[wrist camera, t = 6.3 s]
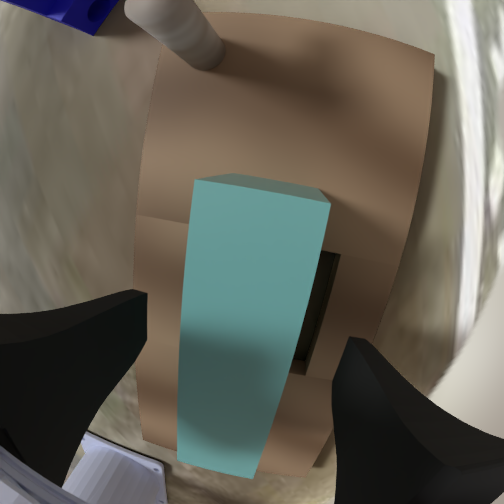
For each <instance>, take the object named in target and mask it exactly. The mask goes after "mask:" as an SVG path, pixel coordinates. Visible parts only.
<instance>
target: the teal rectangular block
mask: <svg viewBox="0 0 504 504" xmlns="http://www.w3.org/2000/svg"><path fill="white" fill-rule="evenodd" d="M330 206H331V203H330V202H329V201H328V200H327V198H326V197H325V196H324V195H323V193H322V192H321V191H320V190H319V189H318V188H314V187H309V186H304V185H299V184H294V183H289V182H283V181H278V180H272V179H267V178H261V177H255V176H249V175H243V174H237V173H230V174H223V175H217V176H211V177H205V178H199V179H195V180H194V188H193V196H192V204H191V212H190V221H189V230H188V239H187V249H186V259H185V270H184V282H183V295H182V308H181V324H180V341H179V363H178V395H177V461H181V462H184V463H187V464H191V465H194V466H198V467H202V468H205V469H209V470H213V471H217V472H222V473H226V474H231V475H235V476H240V477H245V478H250V479H253V477H254V474H255V472H256V469H257V466H258V463H259V461H260V458H261V455H262V452H263V449H264V447H265V444H266V441H267V438H268V435H269V432H270V429H271V426H272V423H273V420H274V417H275V414H276V411H277V408H278V405H279V402H280V399H281V395H282V392H283V389H284V386H285V383H286V379H287V376H288V373H289V369H290V366H291V363H292V359H293V356H294V352H295V349H296V345H297V342H298V338H299V335H300V331H301V327H302V324H303V320H304V316H305V313H306V309H307V305H308V301H309V297H310V293H311V289H312V285H313V281H314V277H315V273H316V269H317V265H318V261H319V256H320V252H321V248H322V243H323V239H324V234H325V230H326V225H327V221H328V216H329V211H330Z"/></svg>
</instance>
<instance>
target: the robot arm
mask: <svg viewBox="0 0 504 504" xmlns="http://www.w3.org/2000/svg"><path fill="white" fill-rule="evenodd" d="M147 302H148V293H146V292H142V291H138V290H135V289H131V290H125V291H121V292H118V293H114V294H111V295H107V296H104V297H101V298H97V299H94V300H91V301H87V302H83V303H80V304H76V305H72V306H68V307H64V308H59V309H54V310H48V311H42V312H34V313H20V314H0V504H168V501H167V493H166V484H165V474H164V466H163V464H162V463H161V462H159V461H156V460H153V459H151V458H148V457H145V456H142V455H140V454H137V453H135V452H132V451H130V450H127V449H125V448H122V447H120V446H118V445H115V444H113V443H111V442H108V441H106V440H104V439H102V438H100V437H97V436H95V435H93V434H91V433H89V432H87V429H88V427H89V425H90V423H91V422H92V420H93V418H94V416H95V415H96V413H97V411H98V409H99V408H100V406H101V405H102V403H103V402H104V400H105V399H106V398H107V396H108V395H109V394H110V393H111V391H112V390H113V389H114V388H115V386H116V385H117V384H118V382H119V381H120V380H121V379H122V377H123V376H124V375H125V374H126V372H127V371H128V370H129V368H130V367H131V366H132V365H133V363H134V362H135V361H136V359H137V357H138V356H139V354H140V352H141V351H142V349H143V347H144V345H145V343H146V341H147ZM331 406H332V416H333V425H334V434H335V444H336V454H337V475H336V491H335V502H334V504H491V503H492V502H493V501H494V500H495V499H497V498H498V497H499V496H500V495H501V494H502V493H503V492H504V439H502V438H499V437H496V436H493V435H490V434H488V433H485V432H483V431H481V430H479V429H477V428H475V427H472V426H470V425H468V424H467V423H464V422H462V421H461V420H459V419H457V418H456V417H454V416H452V415H451V414H449V413H447V412H446V411H444V410H443V409H441V408H440V407H439V406H437V405H436V404H434V403H433V402H432V401H431V400H429V399H428V398H427V397H425V396H424V395H423V394H421V393H420V392H419V391H418V390H417V389H416V388H415V387H413V386H412V385H411V384H410V383H409V382H408V381H407V380H406V379H405V378H404V377H403V376H402V375H401V374H400V373H399V372H398V371H397V370H396V369H395V368H394V367H393V366H392V365H391V364H390V363H389V362H388V361H387V360H386V359H385V358H384V357H383V356H382V355H381V354H380V353H379V352H378V350H377V349H376V348H375V347H374V346H373V345H372V344H371V343H370V342H369V341H367V340H366V339H364V338H357V337H351V336H349V338H348V340H347V343H346V346H345V349H344V351H343V354H342V357H341V359H340V362H339V365H338V367H337V370H336V372H335V375H334V377H333V380H332V395H331ZM80 443H81V444H82V447H83V449H84V452H85V455H84V456H83V457H82V459H81V460H80V462H79V463H78V465H77V466H76V468H75V469H74V470H73V472H72V473H71V475H70V476H69V478H68V479H67V481H66V482H65V484H64V485H63V483H64V480H65V478H66V475H67V472H68V470H69V467H70V465H71V462H72V460H73V458H74V456H75V453H76V451H77V449H78V447H79V445H80ZM62 486H63V487H62Z"/></svg>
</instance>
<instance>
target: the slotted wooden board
mask: <svg viewBox="0 0 504 504" xmlns="http://www.w3.org/2000/svg"><path fill="white" fill-rule="evenodd" d="M124 11H125V14H126V16H127V17H128V18H129V19H130V20H131V21H133V22H134V23H135V24H137V25H138V26H140V27H141V28H142V29H144V30H145V31H146V32H148V33H149V34H150V35H152V36H153V37H154V38H156V39H157V40H158V41H160V42H161V43H162V48H161V52H160V56H159V61H158V65H157V70H156V75H155V79H154V84H153V90H152V95H151V100H150V106H149V112H148V118H147V124H146V130H145V137H144V144H143V152H142V160H141V168H140V177H139V187H138V198H137V210H136V225H135V243H134V273H133V289H135V290H138V291H142V292H146V293H148V302H147V341H146V343H145V345H144V347H143V349H142V351H141V352H140V354H139V356H138V357H137V359H136V361H135V366H136V380H137V392H138V402H139V412H140V420H141V428H142V436H143V440H145V441H148V442H150V443H153V444H156V445H159V446H162V447H165V448H168V449H171V450H174V451H177V395H178V363H179V341H180V324H181V308H182V295H183V282H184V270H185V259H186V249H187V239H188V230H189V221H190V212H191V204H192V196H193V188H194V180H195V179H199V178H205V177H211V176H217V175H223V174H230V173H237V174H243V175H249V176H255V177H261V178H267V179H272V180H278V181H283V182H289V183H294V184H299V185H304V186H309V187H314V188H318V189H319V190H320V191H321V192H322V193H323V195H324V196H325V197H326V198H327V200H328V201H329V202H330V203H331V206H330V211H329V216H328V221H327V225H326V230H325V234H324V239H323V243H322V248H321V250H323V251H328V252H333V253H336V254H335V258H334V262H333V266H332V270H331V274H330V278H329V282H328V285H327V289H326V293H325V297H324V300H323V304H322V307H321V311H320V314H319V318H318V321H317V325H316V328H315V331H314V335H313V338H312V341H311V345H310V348H309V351H308V354H307V357H306V361H302V360H296V359H292V363H291V366H290V369H289V373H288V376H287V379H286V383H285V386H284V389H283V392H282V395H281V399H280V402H279V405H278V408H277V411H276V414H275V417H274V420H273V423H272V426H271V429H270V432H269V435H268V438H267V441H266V444H265V447H264V449H263V452H262V455H261V458H260V461H259V463H258V466H257V469H256V471H261V472H267V473H273V474H280V475H287V476H296V477H306V476H307V474H308V472H309V471H310V469H311V467H312V466H313V464H314V462H315V460H316V459H317V457H318V455H319V454H320V452H321V450H322V448H323V446H324V445H325V443H326V441H327V439H328V437H329V435H330V434H331V432H332V430H333V428H334V425H333V416H332V406H331V395H332V380H333V377H334V375H335V372H336V370H337V367H338V365H339V362H340V359H341V357H342V354H343V351H344V349H345V346H346V343H347V340H348V338H349V336H351V337H357V338H364V339H366V340H367V341H369V342H370V343H371V344H372V343H373V340H374V337H375V335H376V332H377V330H378V327H379V324H380V322H381V319H382V316H383V313H384V311H385V308H386V305H387V302H388V299H389V296H390V293H391V290H392V287H393V284H394V281H395V278H396V274H397V271H398V268H399V264H400V261H401V258H402V254H403V250H404V247H405V243H406V239H407V236H408V232H409V228H410V224H411V220H412V216H413V211H414V207H415V203H416V198H417V193H418V189H419V184H420V178H421V173H422V168H423V162H424V156H425V150H426V143H427V136H428V129H429V121H430V112H431V103H432V92H433V78H434V57H435V54H432V53H430V52H427V51H424V50H422V49H419V48H416V47H414V46H411V45H408V44H405V43H402V42H399V41H396V40H393V39H389V38H386V37H383V36H379V35H376V34H372V33H368V32H365V31H361V30H357V29H353V28H348V27H344V26H339V25H334V24H330V23H324V22H319V21H313V20H307V19H300V18H293V17H285V16H276V15H266V14H253V13H232V12H201V10H200V9H199V8H198V6H197V5H196V4H195V2H194V1H193V0H126V1H125V6H124Z"/></svg>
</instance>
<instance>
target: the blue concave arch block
mask: <svg viewBox="0 0 504 504" xmlns="http://www.w3.org/2000/svg"><path fill="white" fill-rule="evenodd" d="M1 1H4V2H7V3H10V4H13V5H16V6H18V7H21V8H24V9H27V10H29V11H32V12H35V13H37V14H40V15H42V16H45V17H47V18H50V19H52V20H55V21H58V22H60V23H63V24H65V25H68V26H71V27H73V28H76V29H78V30H80V31H83V32H85V33H88V34H90V35H92V36H94V34H95V33H96V31H97V30H98V28H99V27H100V25H101V24H102V23H103V21H104V20H105V18H106V17H107V16H108V14H109V13H110V11H111V10H112V9H113V7H114V6H115V5H116V3H117V2H118V1H119V0H1Z"/></svg>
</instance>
